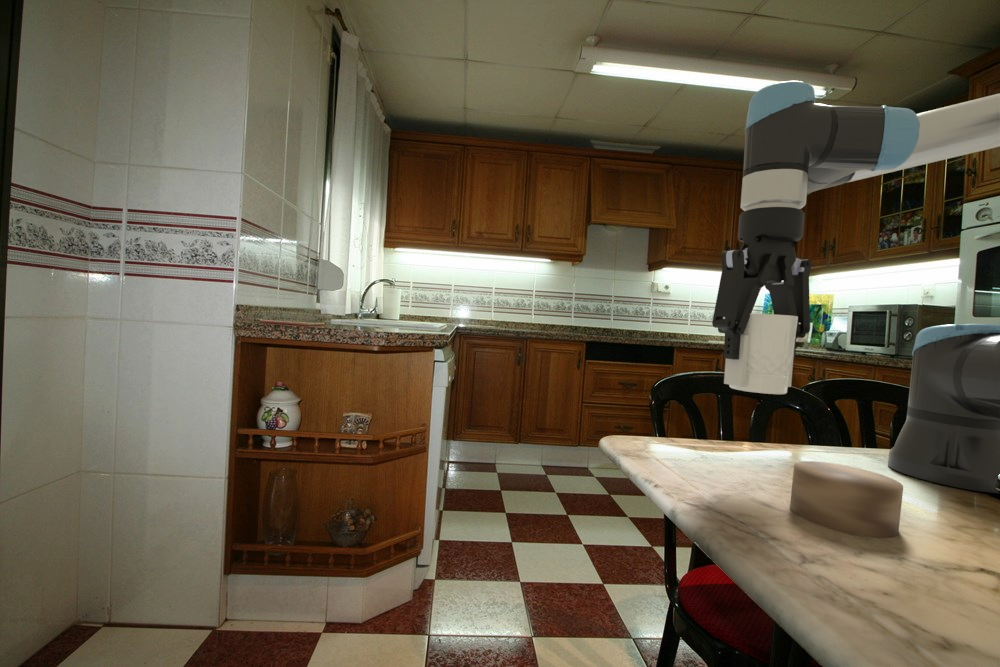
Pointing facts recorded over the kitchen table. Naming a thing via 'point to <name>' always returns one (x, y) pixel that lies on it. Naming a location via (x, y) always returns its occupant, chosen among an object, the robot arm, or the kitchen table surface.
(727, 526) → the kitchen table surface
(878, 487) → the walnut block
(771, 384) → the white cup
